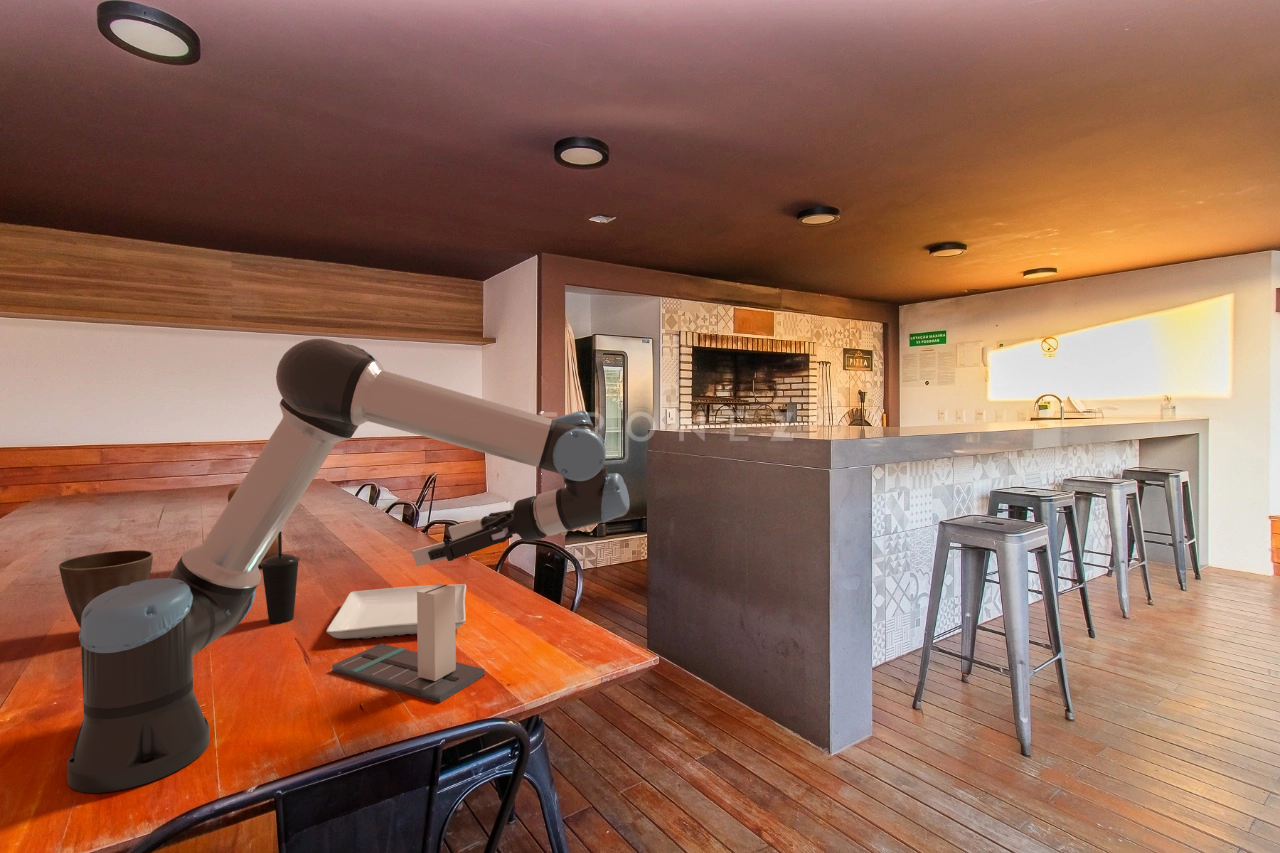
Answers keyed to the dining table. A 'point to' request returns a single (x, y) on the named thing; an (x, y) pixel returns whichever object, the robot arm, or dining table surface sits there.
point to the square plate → (386, 612)
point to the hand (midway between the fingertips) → (434, 545)
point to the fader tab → (436, 631)
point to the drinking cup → (280, 584)
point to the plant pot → (101, 575)
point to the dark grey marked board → (405, 672)
